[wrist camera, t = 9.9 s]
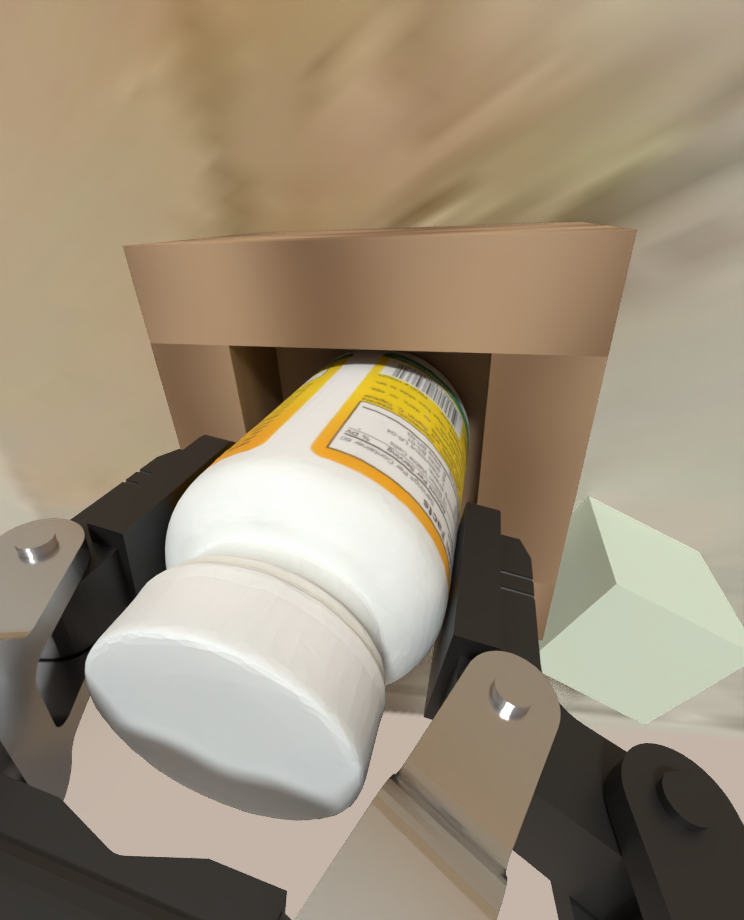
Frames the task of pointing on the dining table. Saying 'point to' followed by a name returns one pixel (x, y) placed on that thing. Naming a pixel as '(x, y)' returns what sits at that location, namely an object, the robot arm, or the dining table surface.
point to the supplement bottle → (295, 592)
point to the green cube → (636, 617)
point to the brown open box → (405, 341)
